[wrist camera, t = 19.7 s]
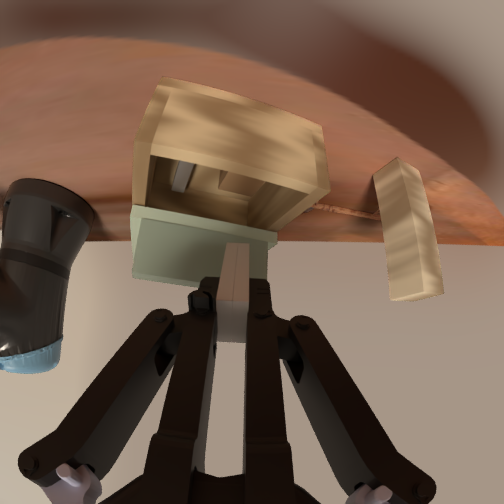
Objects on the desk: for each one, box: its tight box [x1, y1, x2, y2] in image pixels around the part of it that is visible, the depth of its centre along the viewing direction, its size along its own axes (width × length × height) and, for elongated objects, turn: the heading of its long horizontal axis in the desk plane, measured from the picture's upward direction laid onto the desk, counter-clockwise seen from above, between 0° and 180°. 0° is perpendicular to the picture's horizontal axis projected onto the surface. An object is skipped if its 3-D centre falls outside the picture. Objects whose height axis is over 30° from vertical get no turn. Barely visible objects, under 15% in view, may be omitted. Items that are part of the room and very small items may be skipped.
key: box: [303, 201, 381, 221], centre depth 30 cm, size 6×1×15 cm
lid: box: [130, 205, 277, 288], centre depth 25 cm, size 12×13×5 cm
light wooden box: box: [132, 77, 331, 232], centre depth 21 cm, size 12×13×6 cm
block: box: [373, 157, 444, 301], centre depth 21 cm, size 4×4×12 cm
